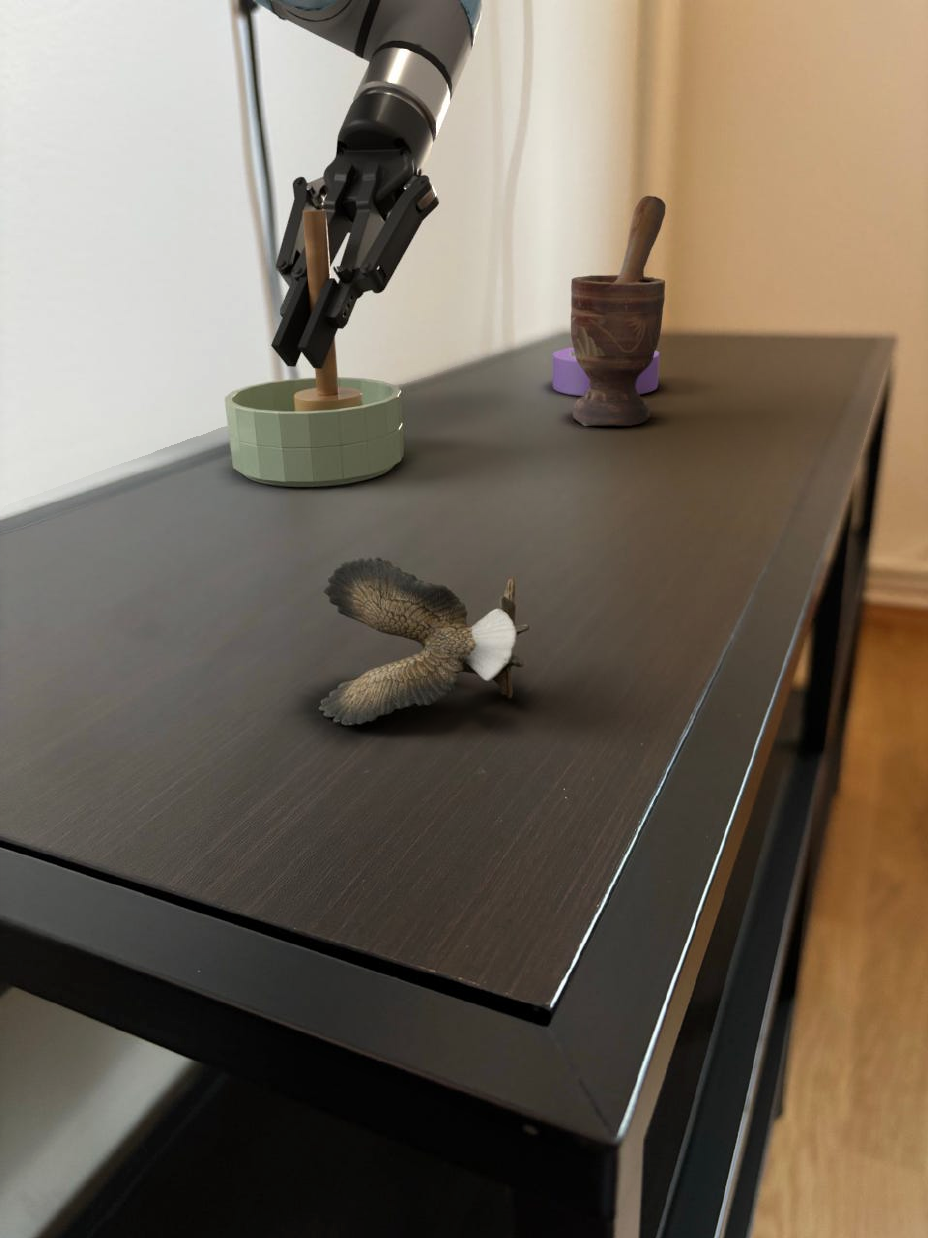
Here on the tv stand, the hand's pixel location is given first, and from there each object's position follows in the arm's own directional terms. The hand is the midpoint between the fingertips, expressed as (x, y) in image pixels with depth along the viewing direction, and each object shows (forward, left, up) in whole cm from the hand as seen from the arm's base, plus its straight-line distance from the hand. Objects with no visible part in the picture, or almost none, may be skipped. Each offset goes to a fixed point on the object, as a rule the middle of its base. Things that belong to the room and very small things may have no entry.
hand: (296, 356), depth 77 cm
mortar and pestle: (+26, +21, -10) cm, 35 cm away
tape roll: (+26, +35, -10) cm, 45 cm away
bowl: (0, +3, -9) cm, 10 cm away
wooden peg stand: (+1, +4, -7) cm, 8 cm away
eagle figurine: (+13, -37, -10) cm, 41 cm away
